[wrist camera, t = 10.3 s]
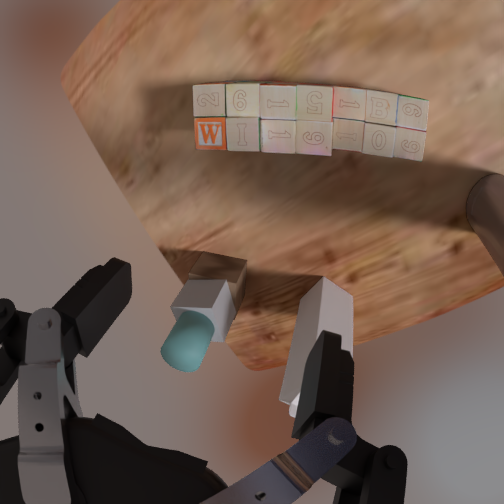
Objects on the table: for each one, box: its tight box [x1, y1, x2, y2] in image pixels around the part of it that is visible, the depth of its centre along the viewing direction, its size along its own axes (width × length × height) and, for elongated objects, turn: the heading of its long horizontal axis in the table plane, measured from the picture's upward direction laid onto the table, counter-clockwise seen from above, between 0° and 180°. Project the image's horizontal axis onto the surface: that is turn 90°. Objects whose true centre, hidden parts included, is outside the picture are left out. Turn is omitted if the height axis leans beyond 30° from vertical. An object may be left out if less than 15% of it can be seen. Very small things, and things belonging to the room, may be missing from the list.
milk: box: [279, 276, 353, 418], centre depth 39 cm, size 6×6×22 cm
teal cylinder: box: [161, 311, 215, 372], centre depth 38 cm, size 5×5×6 cm
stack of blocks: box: [193, 80, 429, 162], centre depth 29 cm, size 21×6×12 cm, turn 90°
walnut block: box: [189, 251, 247, 320], centre depth 48 cm, size 7×7×6 cm
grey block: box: [170, 279, 236, 342], centre depth 43 cm, size 6×6×6 cm
